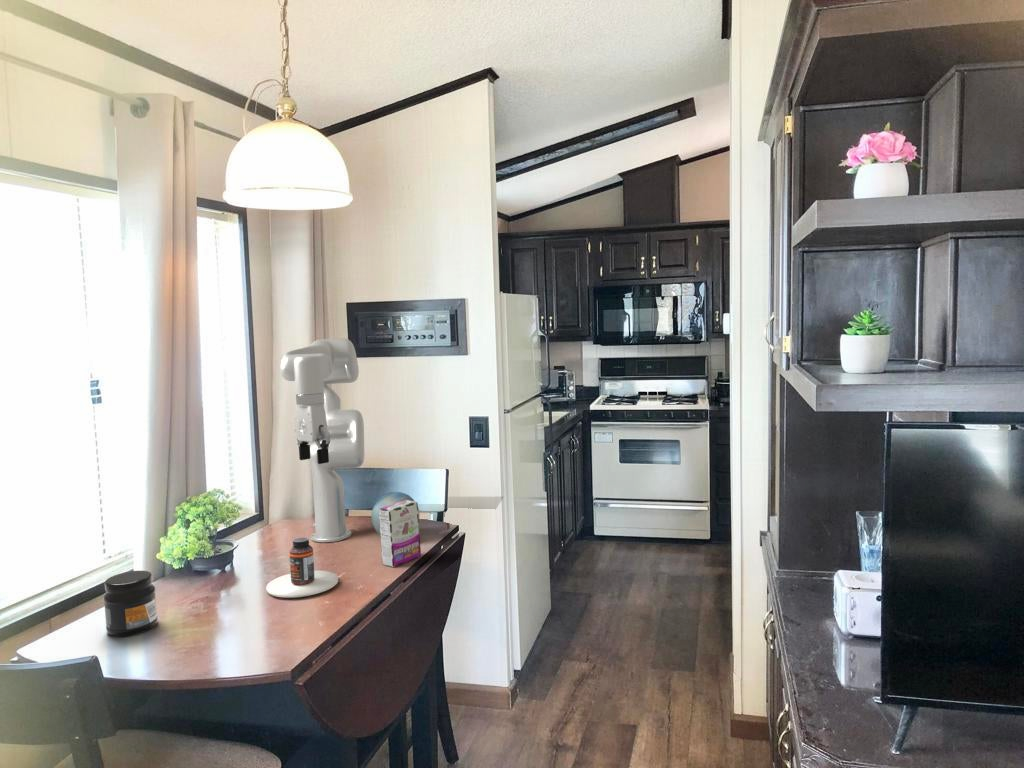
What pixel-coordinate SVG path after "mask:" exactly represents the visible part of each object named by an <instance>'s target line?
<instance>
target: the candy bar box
mask: <svg viewBox="0 0 1024 768" xmlns="http://www.w3.org/2000/svg"><path fill="white" fill-rule="evenodd" d="M418 508H419V506H418V501H416V500H414V501H409V500H405V501H402V502H399V503H396V504H392V505H389V506H386V507H383V508H380V509H379V521H380V534H381V535H380V534H379V535H380V546H381V547H380V548H381V561H382V565H383V564H384V565H383V566H385V565H387V566H386V567H391V568H396V567H398V565H399V566H400V565H404V564H406V563H408V561H409V562H411V561H413V560H415V559H418V558H420V557H422V553H421V552H422V551H421V549H422V548H421V537H420V533H421V532H420V517H419V518H418ZM405 562H406V563H405ZM403 563H404V564H403Z"/></svg>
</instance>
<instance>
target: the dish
mask: <svg viewBox="0 0 1024 768" xmlns="http://www.w3.org/2000/svg"><path fill="white" fill-rule="evenodd" d="M338 583H339V577H338V575H337V574H336V573H334V572H331V571H327V570H315V569H314V581H313V582H311V583H309V584H305V585H295V584H293V583H292V582H291V573H287V574H284V575H281V576H278V577H276V578H273V580H271V581H269V582H268V584H266V587H265V591H266V593H267V594H269V595H270V596H272V597H278V598H287V599H288V598H302V597H309V596H313V595H317V594H321V593H324V592H326V591H329V590H330V589H333V587H334V588H335V586H337V584H338Z"/></svg>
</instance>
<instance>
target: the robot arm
mask: <svg viewBox="0 0 1024 768" xmlns="http://www.w3.org/2000/svg"><path fill="white" fill-rule="evenodd" d="M279 369H280V373H281V375H282V377H283V379H284V380H285V381H288V382H294V388H295V400H296V406H295V415H294V416H295V418H294V428H295V429H294V433H295V438H296V440H297V446H298V456H299V460H300V461H306V460H308V462H309V466H310V472H311V478H312V481H311V482H312V492H313V493H312V494H313V495H312V496H313V507H314V508H313V510H314V511H313V512H314V523H312V527H313V528H315V532H313V533H311V535H310V540H311V541H313V542H316V543H333V542H339V541H343V540H346V539H348V538H350V537H351V536H352V531H351V530H350V529H348V528H347V525H346V507H345V490H344V489H345V488H344V486H345V485H344V481H343V479H342V477H341V476H340V475H339V474H338V472H336V471H335V470H342V469H344V470H346V469H356V468H360V467H361V466H362V465H363V464H364V462H365V425H364V417H363V415H362V413H361V412H360V411H359V410H358V409H353V408H352V409H341V403H342V402H341V397H340V396H339V395H338V394H337V392H335V390H334V389H332V388H331V387H330V386H328V385H331V384H332V385H333V384H351V383H354V382H356V381H357V380H358V378H359V374H360V372H359V371H360V370H359V365H358V357H357V353H356V348H355V346H354V344H353V343H352V341H351V340H350V339H348V338H343V337H342V338H341V337H340V338H321V339H316V340H313V342H311V343H310V345H309V346H305V347H301V348H297V349H292V350H289V351H287V352H286V353H285V354H284V355H283V357H282V359H281V361H280V367H279ZM309 443H311V444H309Z"/></svg>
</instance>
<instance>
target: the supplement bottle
mask: <svg viewBox="0 0 1024 768" xmlns="http://www.w3.org/2000/svg"><path fill="white" fill-rule="evenodd" d="M292 545H293V546H292V547H291V548H290V550H289V566H290V567H289V568H290V574H291V582H292V583H293V584H295V585H305V584H309V583H311V582H313V581H314V570H315V560H314V548H313V546H311V545H310V539H309V538H308V537H297V538H294V539H293V540H292Z"/></svg>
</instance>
